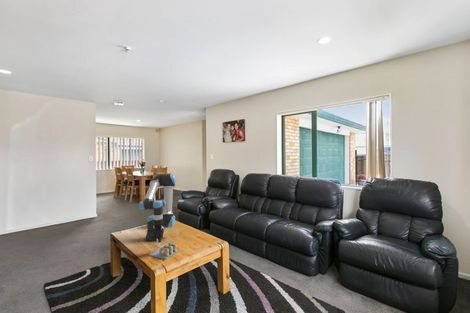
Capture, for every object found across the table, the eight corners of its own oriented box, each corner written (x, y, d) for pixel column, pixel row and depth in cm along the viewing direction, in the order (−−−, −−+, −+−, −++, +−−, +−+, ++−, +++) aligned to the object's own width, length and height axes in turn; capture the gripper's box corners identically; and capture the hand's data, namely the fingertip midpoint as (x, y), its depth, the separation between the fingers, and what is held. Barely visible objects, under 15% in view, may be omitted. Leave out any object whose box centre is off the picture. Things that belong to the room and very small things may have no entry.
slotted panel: (159, 254, 189) (159, 247, 189) (168, 249, 198) (168, 242, 198) (168, 256, 185) (167, 249, 185) (176, 251, 194) (176, 244, 194)
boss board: (148, 255, 190) (148, 245, 190) (162, 248, 205) (162, 238, 205) (165, 259, 183) (165, 248, 183) (178, 251, 197) (178, 241, 197)
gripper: (149, 219, 195) (149, 246, 196) (160, 221, 190) (161, 249, 191) (155, 216, 202) (155, 243, 203) (167, 218, 197) (167, 245, 198)
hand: (158, 245), depth 197 cm, fingers closed
